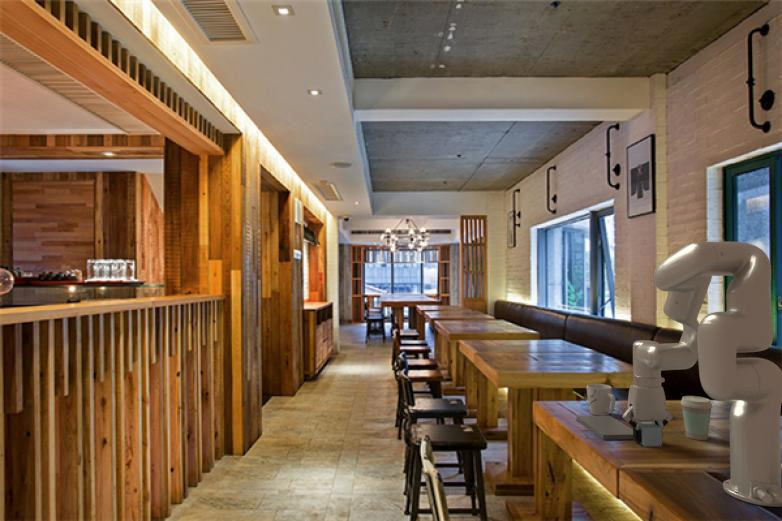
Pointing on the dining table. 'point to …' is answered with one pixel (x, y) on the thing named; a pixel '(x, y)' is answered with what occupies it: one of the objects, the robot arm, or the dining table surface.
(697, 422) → the coffee cup
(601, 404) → the mug
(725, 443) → the dining table surface
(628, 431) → the board
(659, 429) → the cube
